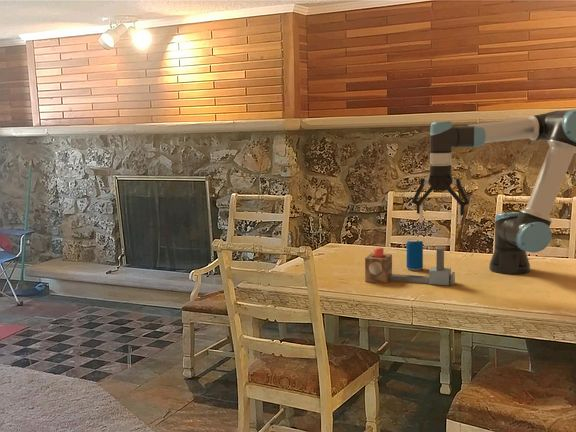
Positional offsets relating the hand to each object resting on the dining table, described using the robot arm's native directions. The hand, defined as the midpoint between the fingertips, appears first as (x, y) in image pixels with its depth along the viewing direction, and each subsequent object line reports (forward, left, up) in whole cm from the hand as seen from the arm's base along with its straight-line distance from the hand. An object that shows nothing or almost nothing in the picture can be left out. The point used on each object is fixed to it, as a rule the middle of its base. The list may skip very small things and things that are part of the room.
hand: (440, 223), depth 224 cm
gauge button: (+23, 0, -16) cm, 28 cm away
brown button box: (+23, 0, -22) cm, 32 cm away
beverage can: (+13, -20, -23) cm, 33 cm away
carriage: (0, 0, -22) cm, 22 cm away
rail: (+7, 0, -22) cm, 23 cm away
